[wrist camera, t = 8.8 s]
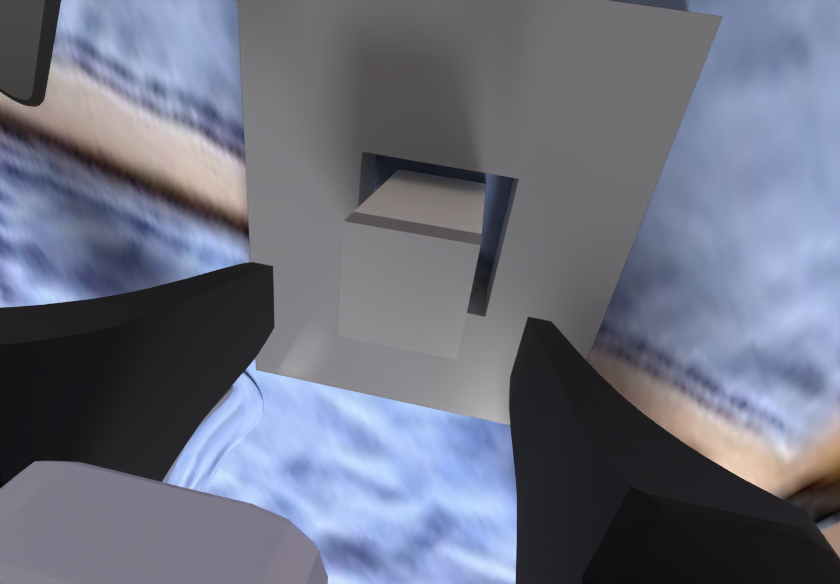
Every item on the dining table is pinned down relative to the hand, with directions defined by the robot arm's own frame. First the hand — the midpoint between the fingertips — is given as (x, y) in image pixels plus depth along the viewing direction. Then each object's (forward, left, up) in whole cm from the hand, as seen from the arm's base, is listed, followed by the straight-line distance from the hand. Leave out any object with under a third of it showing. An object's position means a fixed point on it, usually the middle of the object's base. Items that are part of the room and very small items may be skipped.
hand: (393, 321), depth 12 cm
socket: (0, 0, -9) cm, 9 cm away
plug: (0, 0, -9) cm, 9 cm away
